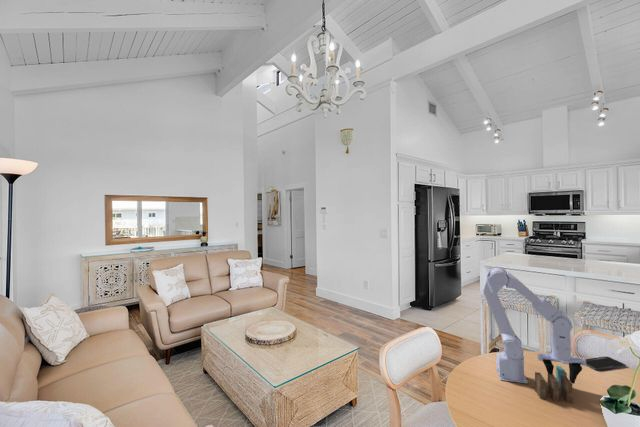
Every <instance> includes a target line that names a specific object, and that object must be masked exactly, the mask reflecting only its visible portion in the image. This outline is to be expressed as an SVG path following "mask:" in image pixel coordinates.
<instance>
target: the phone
mask: <svg viewBox="0 0 640 427" xmlns="http://www.w3.org/2000/svg"><path fill="white" fill-rule="evenodd" d="M584 359H585V358H584ZM585 360H586V366H585V367H588V368H590V369H592V370H594V371H596V372H604V371H610V370H611V371H612V370H619V369H624V368H626V367H627V364H625V363H624V362H622V361H619V360H617V359H614V358H612V357H610V356H599V357H593V358H592V357H591V358H586V359H585Z"/></svg>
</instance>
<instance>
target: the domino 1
mask: <svg viewBox="0 0 640 427" xmlns="http://www.w3.org/2000/svg"><path fill="white" fill-rule="evenodd" d="M534 390H535V392H536V394H537V396H538V398H539V399H540V400H546V379H545V377H543V375H542V373H541V372H538V371H537V372H536V371H535V372H534Z"/></svg>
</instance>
